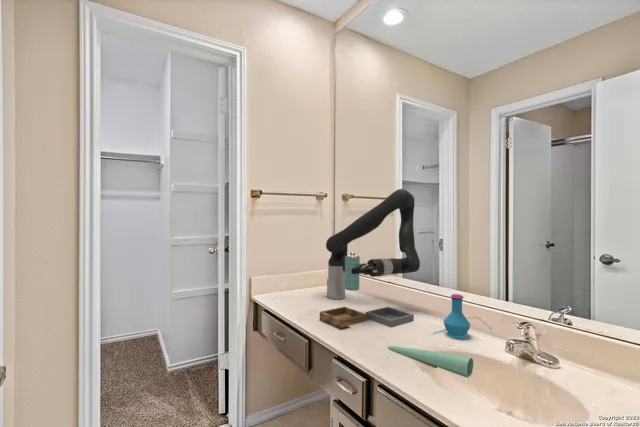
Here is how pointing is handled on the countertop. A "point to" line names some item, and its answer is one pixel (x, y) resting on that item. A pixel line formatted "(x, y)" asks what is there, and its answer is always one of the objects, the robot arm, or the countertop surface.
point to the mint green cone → (440, 360)
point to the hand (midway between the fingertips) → (347, 270)
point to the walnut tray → (342, 317)
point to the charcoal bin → (390, 316)
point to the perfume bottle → (456, 319)
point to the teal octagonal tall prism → (350, 263)
